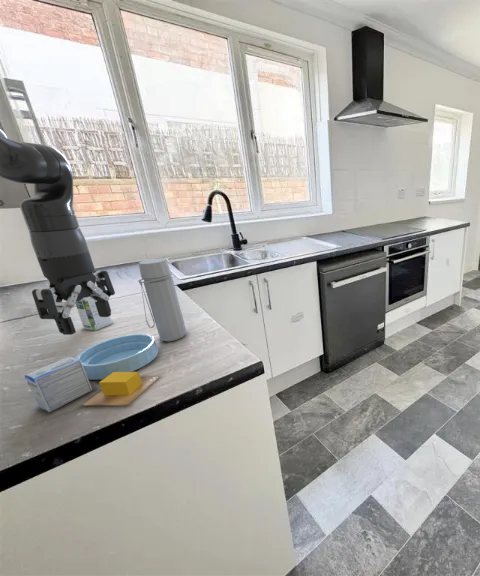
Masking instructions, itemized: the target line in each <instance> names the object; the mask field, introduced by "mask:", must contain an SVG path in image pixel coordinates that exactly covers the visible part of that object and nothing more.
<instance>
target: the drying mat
mask: <svg viewBox="0 0 480 576" xmlns="http://www.w3.org/2000/svg"><path fill="white" fill-rule="evenodd" d="M140 379H141V382H142V385H141V386H140V387H139V388H137V389H136V390H135V391H134V392H133V393H131V394H130V395H104V394H103V391H102V390H100V391H99V392H98V393H96V394H95V395H93V396H92V397H91V398H89V399H88V400H87V401H86V402H84V403H82V407H128V406H129V405H130V404H131V403H132V402H133V401H135V400H136V399H138V397H139V396H141V395H142V394H143V393H144V392H145V391H146V390H147V389H149V387H151V386H152V385H153V384H154V383H155V382H156V381H158V380H159V379H160V378H159V376H140Z"/></svg>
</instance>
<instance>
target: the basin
mask: <svg viewBox="0 0 480 576" xmlns="http://www.w3.org/2000/svg"><path fill="white" fill-rule="evenodd" d="M158 354H159V349H158V345H157V342H156V339H155V337H154V336H153V335H151V334H147V333H134V334H133V333H132V334H126V335H121V336H117V337H113V338H110V339H107V340H104V341H100V342H98V343H96V344H94V345H92V346H90V347H88V348H86V349H84V350H82V351H81V353H79V354H78V355H77V356H76V358H75V359H78V360H81V362H82V365H83V367H84V370H85V372H86V375H87V378H88V380H89V381H91V380H93V381H95V380H96V381H97V380H103V379H105V378H106V377H107V376H109V375H110V374H112V373H113V372H135V371H136V370H139V369H141V368H144V366H147V365H148V364H149V363H151V362H152V361H153V360H155V358H156V357H157V356H158Z"/></svg>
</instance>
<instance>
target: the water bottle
mask: <svg viewBox="0 0 480 576" xmlns="http://www.w3.org/2000/svg"><path fill="white" fill-rule="evenodd" d="M138 267H139V272H140V273H139V274H140V277H141V279H138V280H137V281H138V283H139V285H140V287H141V289H142V291H141V294H142V296H144V297H145V299H144V298H142V302H143V303H145V300H146V304H147V307H148V310H149V312H150V317H151V319H152V321H153V325H150V324H149V321H148V318H147V313H146V311H144V315H145V322H146V325H147V326H148V328H149V329H153V328H154V327H155V326H156V329H157V333H158V336H159V339H160V340H161V341H163V342H175V341H178V340H180V339H182V338H183V337H185V336H186V334H187V328H186V324H185V320H184V317H183V312H182V309H181V305H180V302H179V297H178V294H177V290H176V286H175V283H174V278H173V273H172V271H171V269H170V266H169V263H168V261H167V259H166V258H164V257H163V258H162V257H159V258H158V257H157V258H149V259H145V260H141V261H139V262H138ZM143 286H144V287H143ZM143 308H144V310H146V306H145V304H143Z"/></svg>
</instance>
